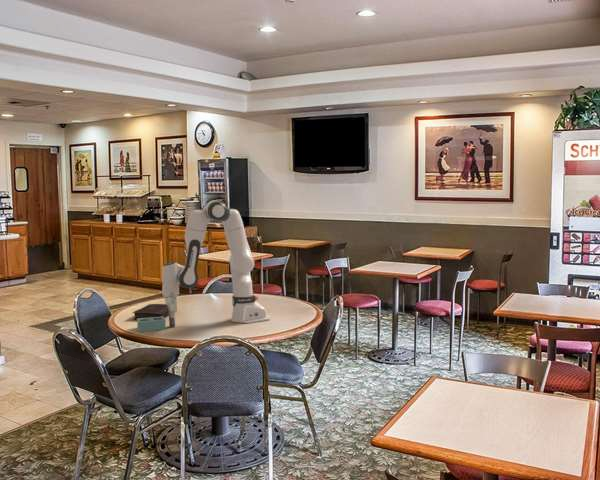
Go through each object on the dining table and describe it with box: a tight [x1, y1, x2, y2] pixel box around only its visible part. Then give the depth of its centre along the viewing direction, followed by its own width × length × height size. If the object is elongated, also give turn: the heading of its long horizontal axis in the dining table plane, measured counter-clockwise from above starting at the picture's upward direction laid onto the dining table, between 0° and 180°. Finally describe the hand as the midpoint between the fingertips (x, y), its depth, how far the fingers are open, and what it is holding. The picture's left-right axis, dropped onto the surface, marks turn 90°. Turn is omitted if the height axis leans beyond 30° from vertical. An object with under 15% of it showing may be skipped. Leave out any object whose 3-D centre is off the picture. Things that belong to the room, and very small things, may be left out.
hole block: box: [136, 316, 167, 333], centre depth 312 cm, size 14×10×5 cm
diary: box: [132, 303, 169, 321], centre depth 344 cm, size 19×25×5 cm
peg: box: [168, 310, 176, 328], centre depth 314 cm, size 3×3×12 cm
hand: (171, 316), depth 315 cm, fingers closed on peg, 3 cm apart
